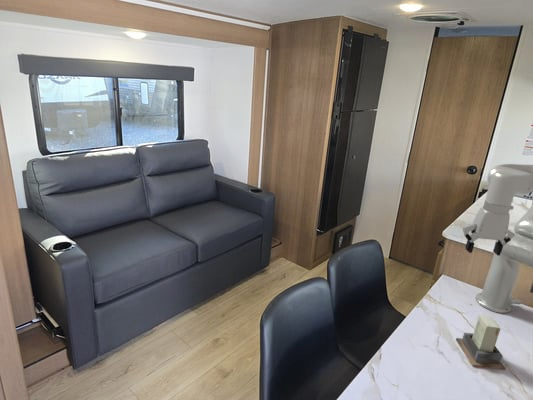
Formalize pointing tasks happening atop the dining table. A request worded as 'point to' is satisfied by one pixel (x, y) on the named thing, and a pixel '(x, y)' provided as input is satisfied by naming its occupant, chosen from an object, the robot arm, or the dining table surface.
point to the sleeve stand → (480, 354)
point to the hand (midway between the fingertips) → (482, 252)
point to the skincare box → (486, 333)
